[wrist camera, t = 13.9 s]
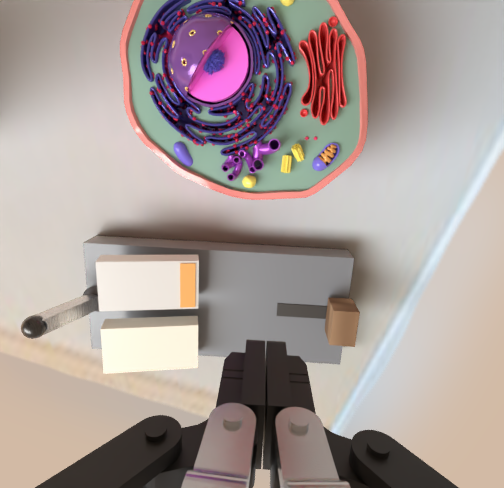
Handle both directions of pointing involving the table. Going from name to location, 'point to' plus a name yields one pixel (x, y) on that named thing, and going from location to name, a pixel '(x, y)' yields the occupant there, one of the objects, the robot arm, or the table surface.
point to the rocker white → (147, 282)
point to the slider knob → (341, 322)
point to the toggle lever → (59, 316)
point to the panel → (243, 293)
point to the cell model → (247, 92)
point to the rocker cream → (149, 344)
